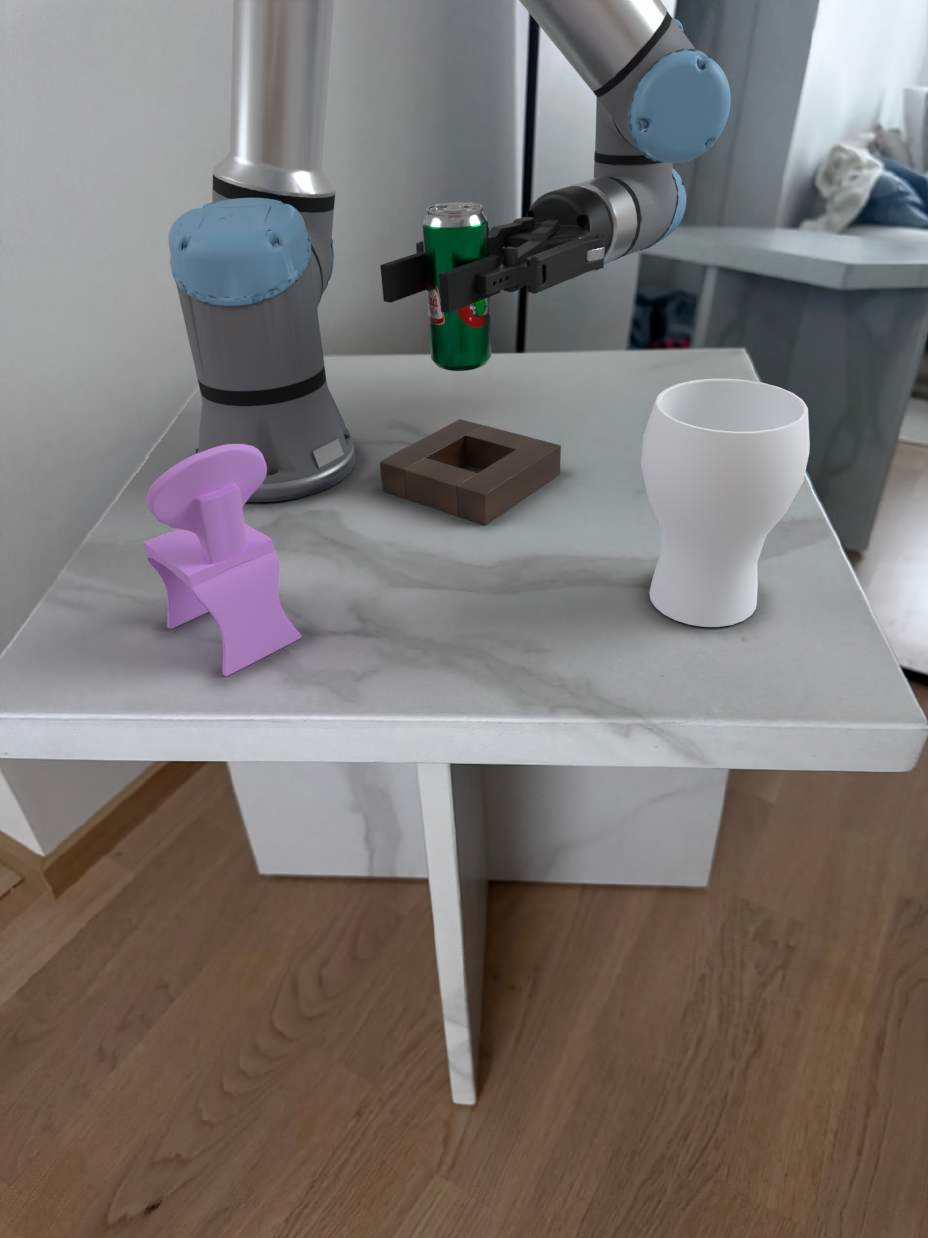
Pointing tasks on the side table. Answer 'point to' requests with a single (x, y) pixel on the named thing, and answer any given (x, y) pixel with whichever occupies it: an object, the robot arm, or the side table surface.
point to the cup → (719, 491)
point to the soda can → (447, 245)
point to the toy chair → (219, 553)
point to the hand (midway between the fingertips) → (414, 288)
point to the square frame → (473, 496)
